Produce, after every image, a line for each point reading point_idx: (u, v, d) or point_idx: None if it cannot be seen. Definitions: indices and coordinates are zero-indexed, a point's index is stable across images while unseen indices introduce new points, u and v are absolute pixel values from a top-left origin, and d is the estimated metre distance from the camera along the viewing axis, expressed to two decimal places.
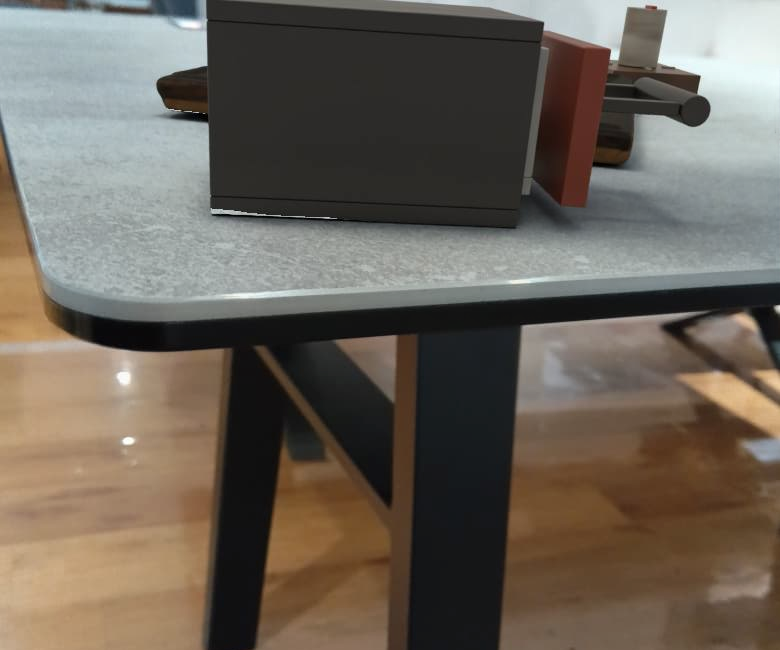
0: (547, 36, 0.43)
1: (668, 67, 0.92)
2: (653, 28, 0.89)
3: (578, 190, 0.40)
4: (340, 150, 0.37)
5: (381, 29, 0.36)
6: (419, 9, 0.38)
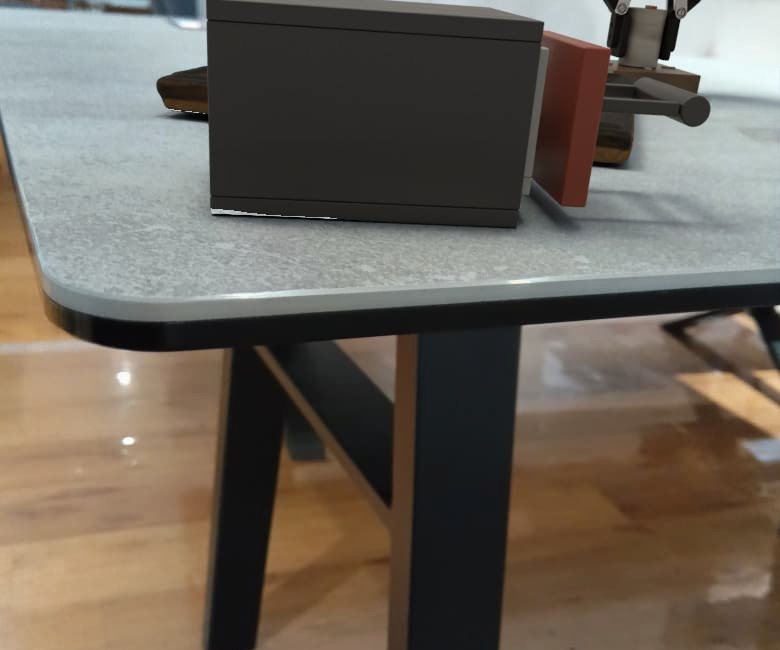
0: (547, 36, 0.43)
1: (668, 67, 0.92)
2: (653, 28, 0.89)
3: (578, 190, 0.40)
4: (340, 150, 0.37)
5: (381, 29, 0.36)
6: (419, 9, 0.38)
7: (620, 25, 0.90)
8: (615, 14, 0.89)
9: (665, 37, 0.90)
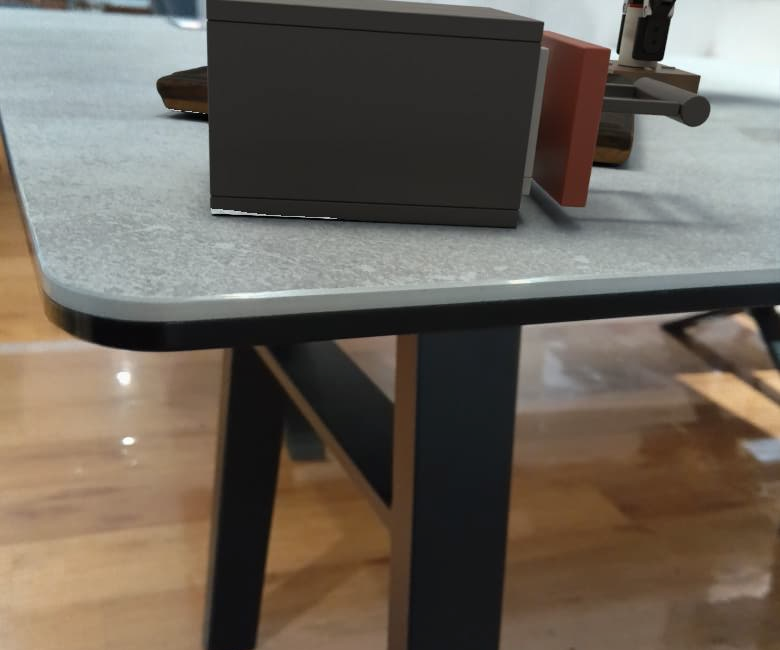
0: (547, 36, 0.43)
1: (668, 67, 0.92)
2: (626, 25, 0.90)
3: (578, 190, 0.40)
4: (340, 150, 0.37)
5: (381, 29, 0.36)
6: (419, 9, 0.38)
7: None
8: None
9: None
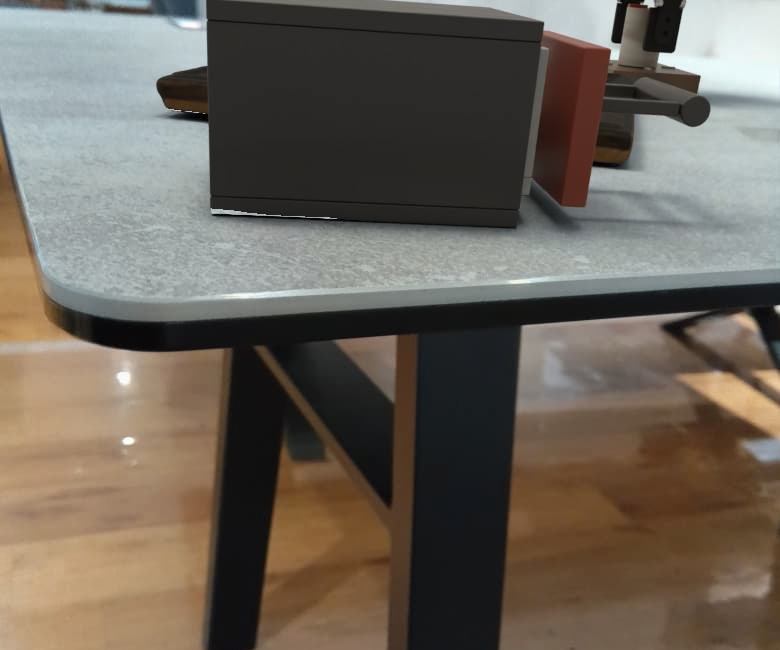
0: (547, 36, 0.43)
1: (668, 67, 0.92)
2: (625, 25, 0.90)
3: (578, 190, 0.40)
4: (340, 150, 0.37)
5: (381, 29, 0.36)
6: (419, 9, 0.38)
7: None
8: None
9: None
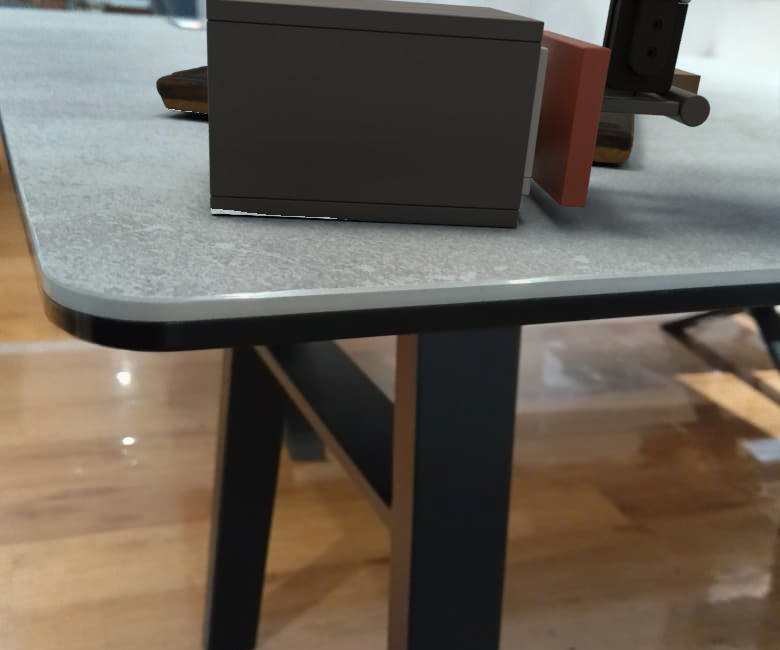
0: (547, 36, 0.43)
1: None
2: None
3: (577, 190, 0.40)
4: (340, 150, 0.37)
5: (381, 29, 0.36)
6: (419, 9, 0.38)
7: None
8: None
9: None
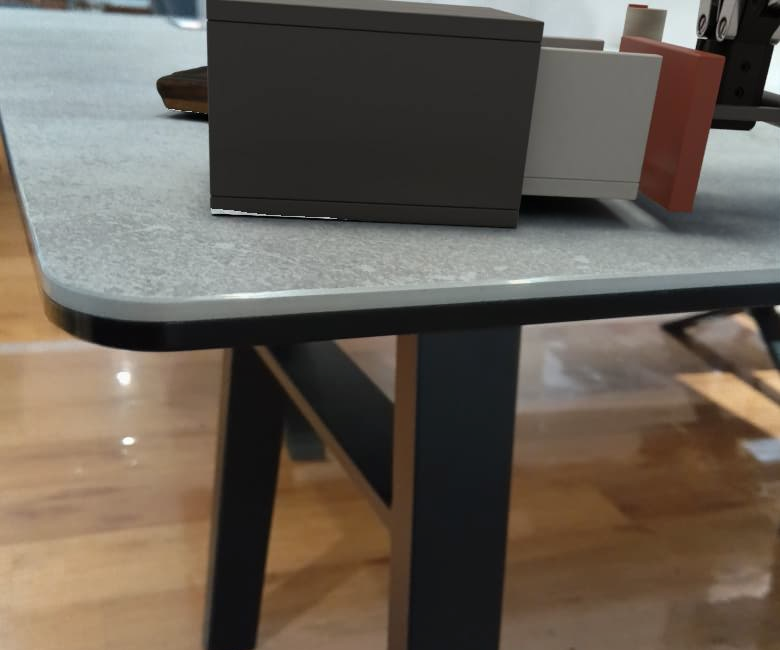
0: (648, 43, 0.43)
1: None
2: (625, 25, 0.90)
3: (685, 195, 0.40)
4: (340, 150, 0.37)
5: (381, 29, 0.36)
6: (419, 9, 0.38)
7: None
8: None
9: None
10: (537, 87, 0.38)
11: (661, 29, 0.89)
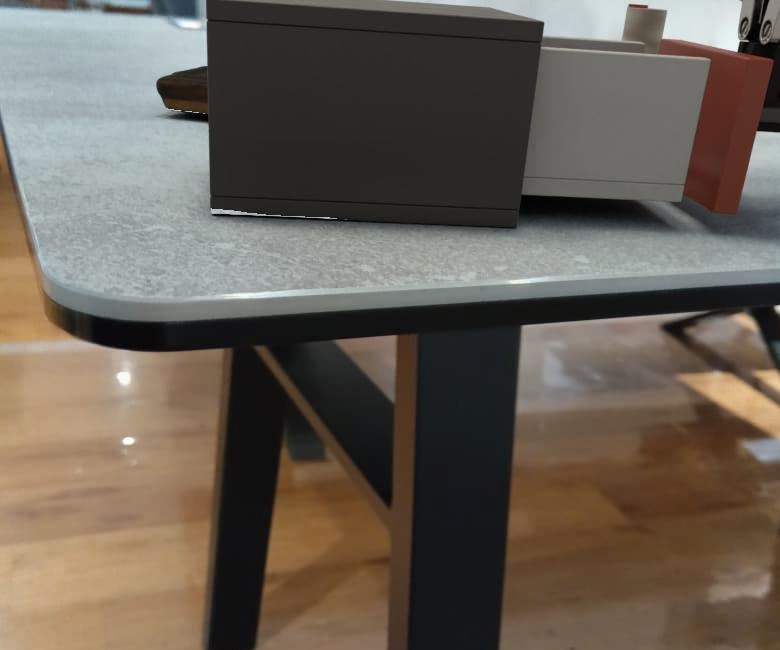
0: (690, 46, 0.44)
1: None
2: (625, 25, 0.90)
3: (731, 197, 0.41)
4: (340, 150, 0.37)
5: (381, 29, 0.36)
6: (419, 9, 0.38)
7: None
8: None
9: None
10: (586, 90, 0.39)
11: (661, 29, 0.89)
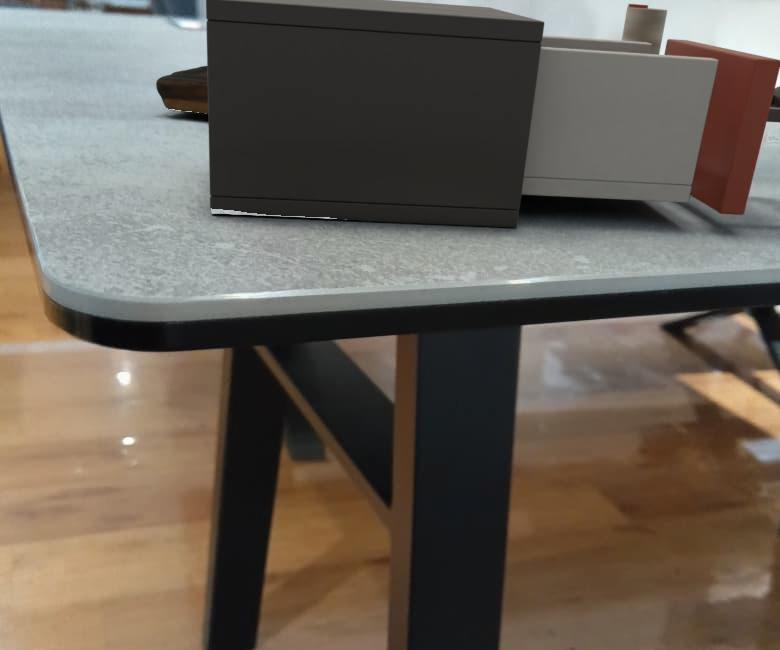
0: (697, 46, 0.44)
1: None
2: (625, 25, 0.90)
3: (738, 198, 0.41)
4: (340, 150, 0.37)
5: (381, 29, 0.36)
6: (419, 9, 0.38)
7: None
8: None
9: None
10: (594, 90, 0.39)
11: (661, 29, 0.89)
